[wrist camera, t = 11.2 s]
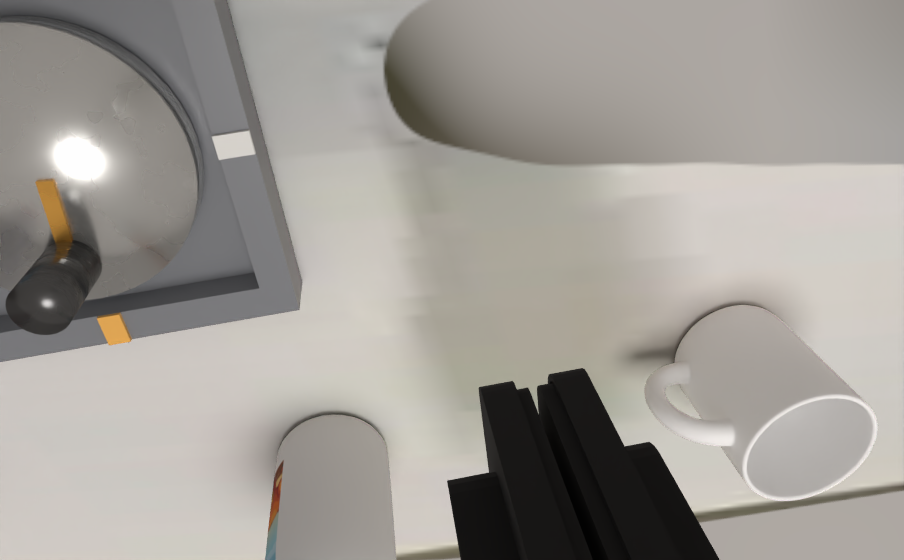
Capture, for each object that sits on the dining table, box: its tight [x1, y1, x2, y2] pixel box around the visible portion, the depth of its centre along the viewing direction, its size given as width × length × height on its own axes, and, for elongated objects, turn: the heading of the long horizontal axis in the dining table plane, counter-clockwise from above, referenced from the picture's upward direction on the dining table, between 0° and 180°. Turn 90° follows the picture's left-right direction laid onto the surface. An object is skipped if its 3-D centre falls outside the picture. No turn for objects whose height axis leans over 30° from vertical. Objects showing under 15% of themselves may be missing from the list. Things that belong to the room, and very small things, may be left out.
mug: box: [645, 305, 878, 501], centre depth 44 cm, size 12×8×10 cm
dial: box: [0, 16, 204, 335], centre depth 32 cm, size 14×14×6 cm
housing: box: [0, 0, 302, 362], centre depth 35 cm, size 20×20×3 cm
